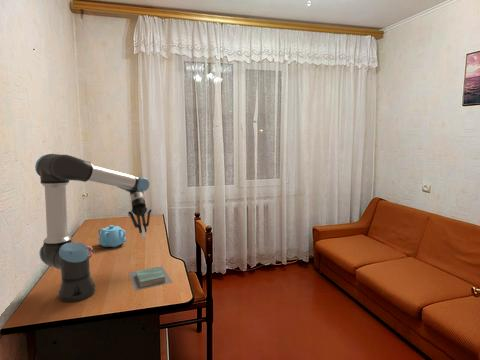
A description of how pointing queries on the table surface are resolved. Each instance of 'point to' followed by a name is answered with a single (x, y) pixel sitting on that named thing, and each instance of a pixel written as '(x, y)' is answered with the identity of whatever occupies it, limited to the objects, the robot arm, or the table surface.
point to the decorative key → (91, 250)
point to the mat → (137, 285)
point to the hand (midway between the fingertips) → (144, 237)
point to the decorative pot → (111, 236)
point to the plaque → (150, 276)
